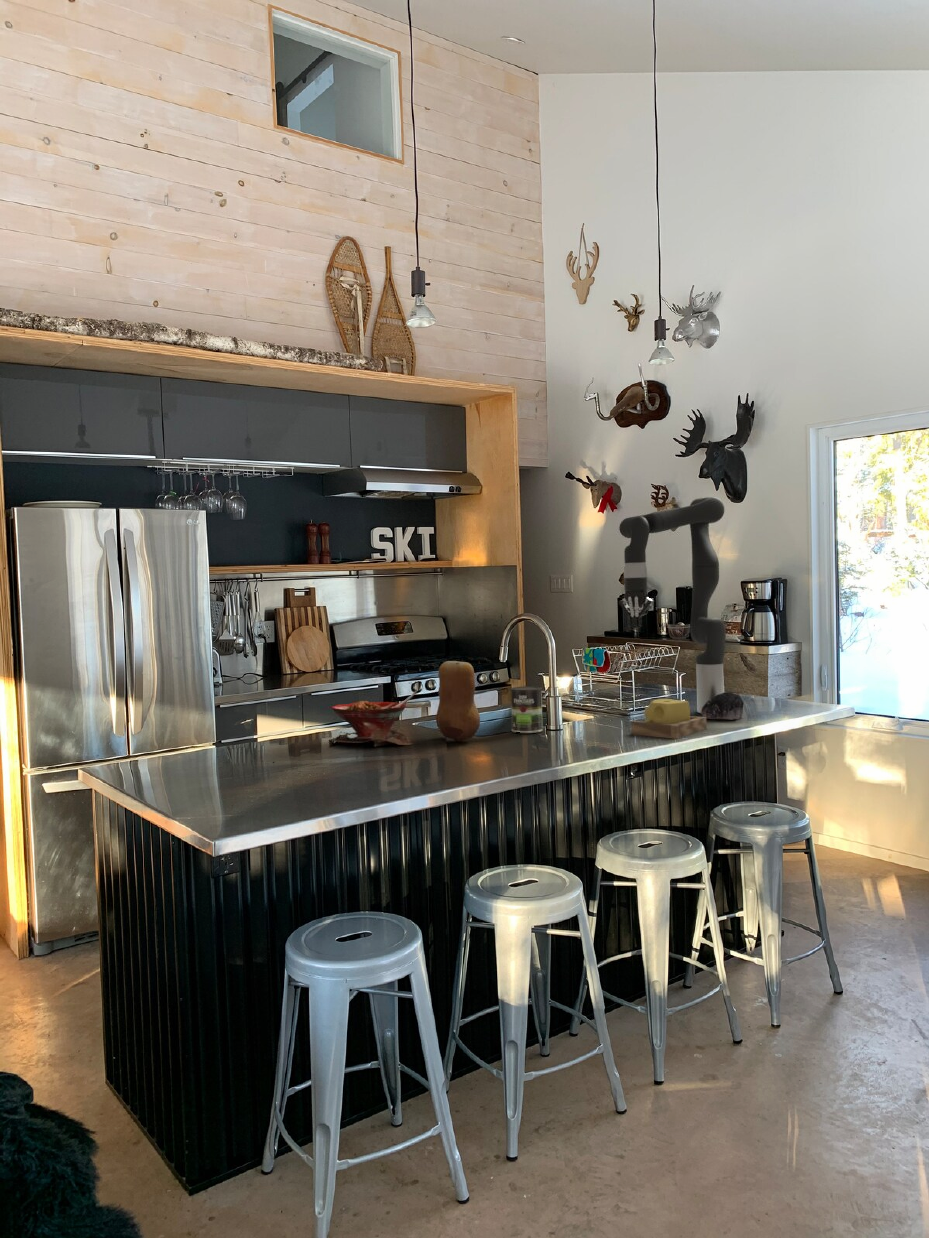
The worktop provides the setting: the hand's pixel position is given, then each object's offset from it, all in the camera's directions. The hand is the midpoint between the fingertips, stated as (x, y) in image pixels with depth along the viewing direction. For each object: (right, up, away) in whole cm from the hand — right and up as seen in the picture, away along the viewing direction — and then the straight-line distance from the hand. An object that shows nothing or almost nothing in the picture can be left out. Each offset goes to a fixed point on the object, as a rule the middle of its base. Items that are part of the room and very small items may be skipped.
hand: (636, 628), depth 321 cm
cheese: (+6, -33, -19) cm, 38 cm away
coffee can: (-37, -34, -7) cm, 51 cm away
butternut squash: (-60, -35, -21) cm, 72 cm away
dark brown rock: (+29, -31, 0) cm, 43 cm away
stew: (-86, -36, -21) cm, 96 cm away
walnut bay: (+7, -33, -20) cm, 39 cm away
